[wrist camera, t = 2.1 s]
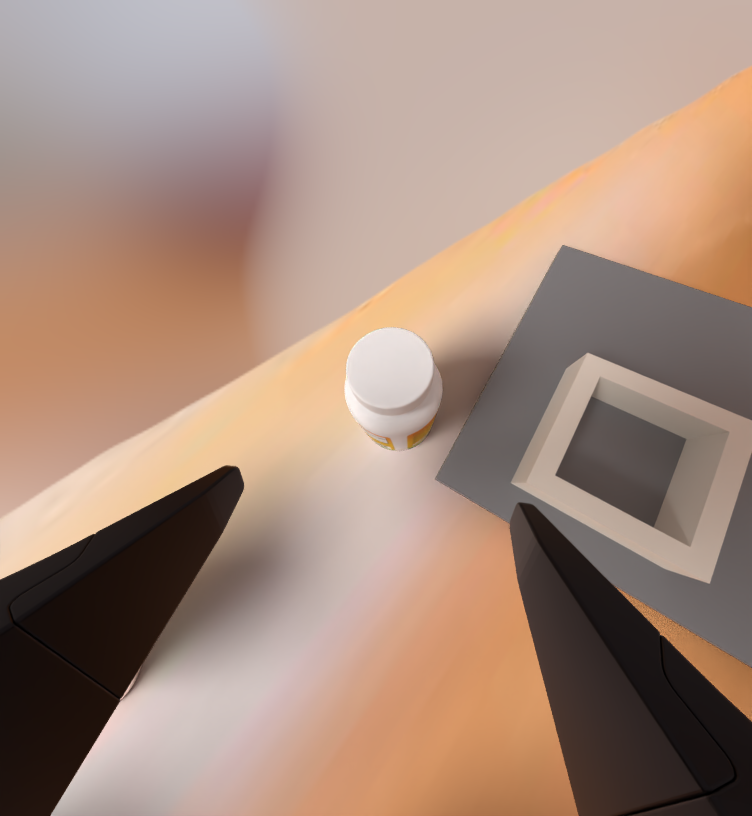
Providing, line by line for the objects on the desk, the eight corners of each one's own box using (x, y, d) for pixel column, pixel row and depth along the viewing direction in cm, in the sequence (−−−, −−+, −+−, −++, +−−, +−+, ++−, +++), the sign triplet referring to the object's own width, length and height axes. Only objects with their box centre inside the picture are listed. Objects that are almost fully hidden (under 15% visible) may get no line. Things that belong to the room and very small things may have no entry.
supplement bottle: (427, 381, 22) (441, 304, 13) (437, 448, 20) (461, 417, 11) (361, 388, 22) (328, 320, 13) (366, 454, 21) (331, 430, 12)
